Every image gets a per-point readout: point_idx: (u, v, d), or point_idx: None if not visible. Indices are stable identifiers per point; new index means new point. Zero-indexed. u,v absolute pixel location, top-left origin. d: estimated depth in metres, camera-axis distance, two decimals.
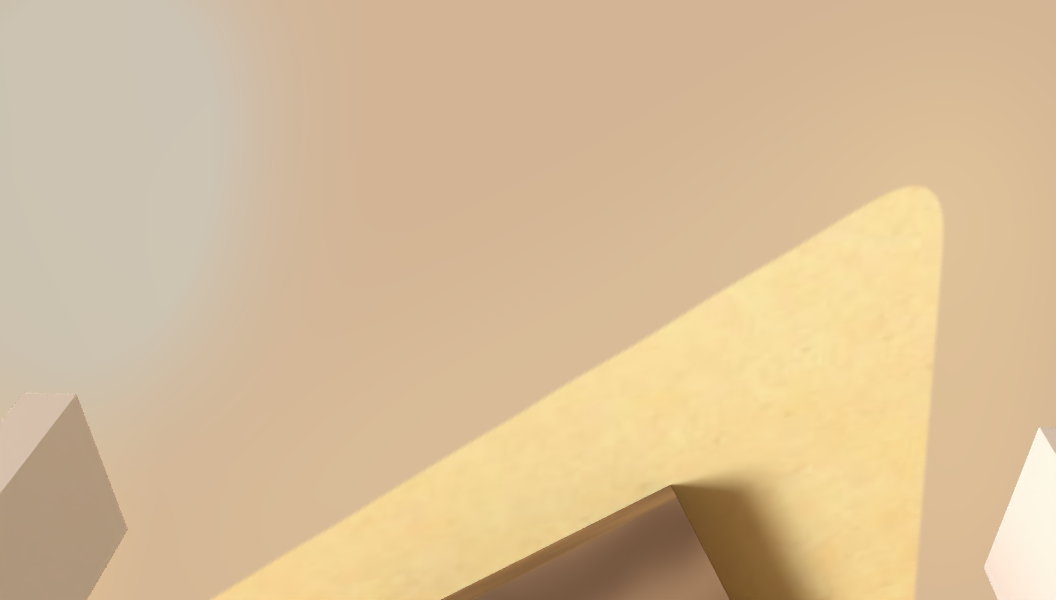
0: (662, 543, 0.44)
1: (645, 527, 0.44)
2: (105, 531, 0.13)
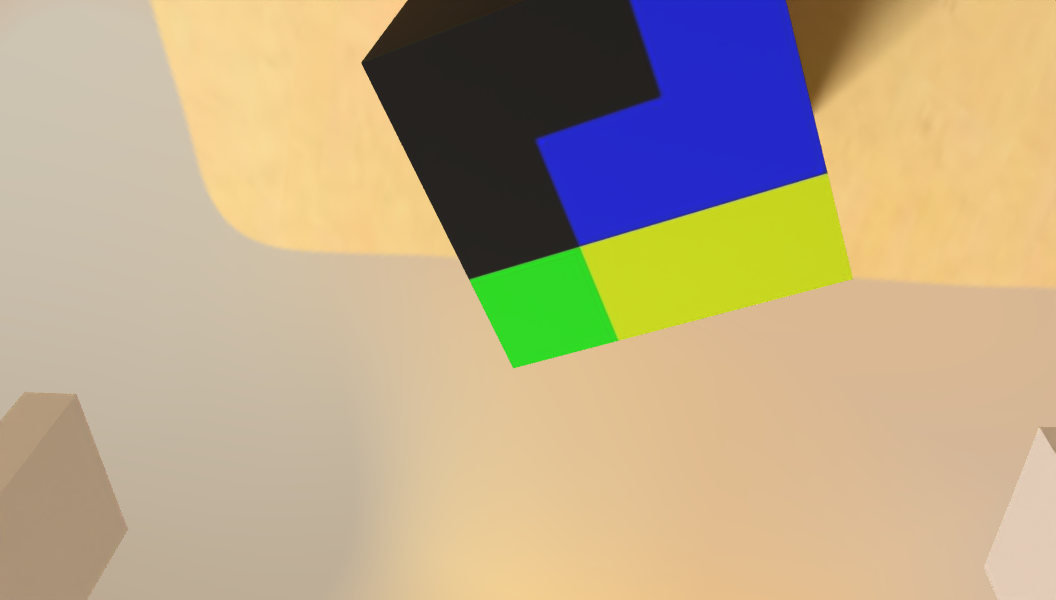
0: None
1: None
2: (105, 531, 0.13)
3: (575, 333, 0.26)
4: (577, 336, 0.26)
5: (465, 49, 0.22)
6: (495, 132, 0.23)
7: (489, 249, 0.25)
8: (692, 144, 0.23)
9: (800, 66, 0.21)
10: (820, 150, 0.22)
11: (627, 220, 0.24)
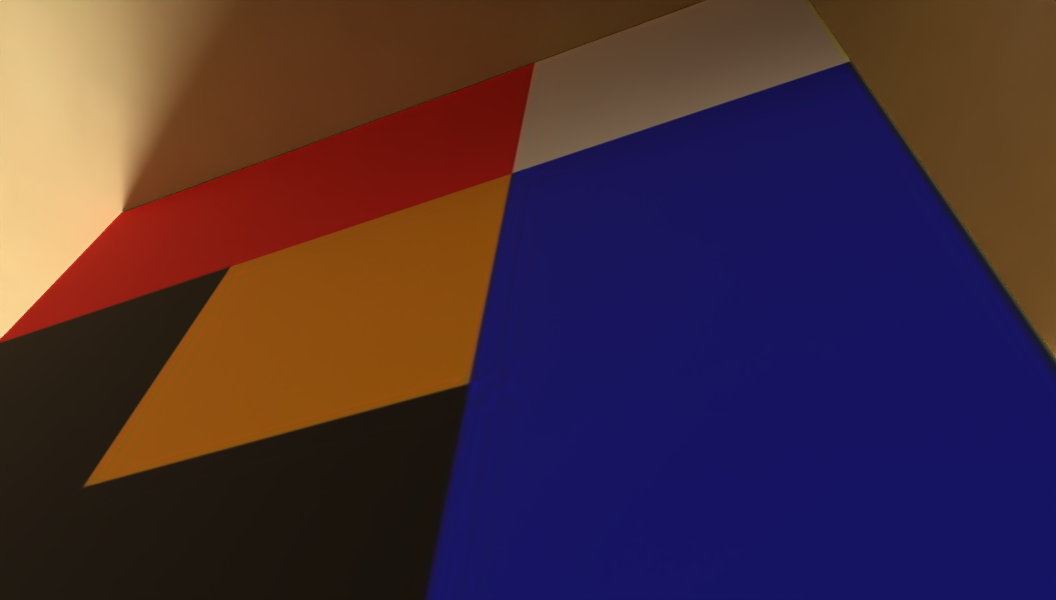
0: None
1: None
2: None
3: None
4: None
5: None
6: None
7: None
8: None
9: None
10: None
11: None
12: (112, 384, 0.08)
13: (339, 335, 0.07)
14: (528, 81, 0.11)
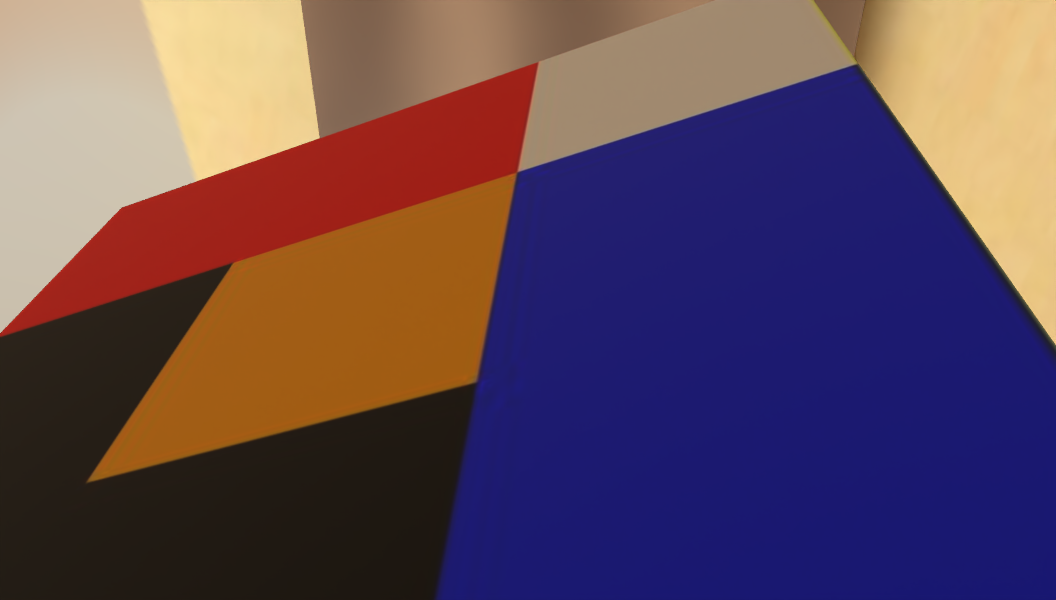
0: None
1: None
2: None
3: None
4: None
5: None
6: None
7: None
8: None
9: None
10: None
11: None
12: (113, 379, 0.08)
13: (346, 332, 0.07)
14: (533, 80, 0.11)
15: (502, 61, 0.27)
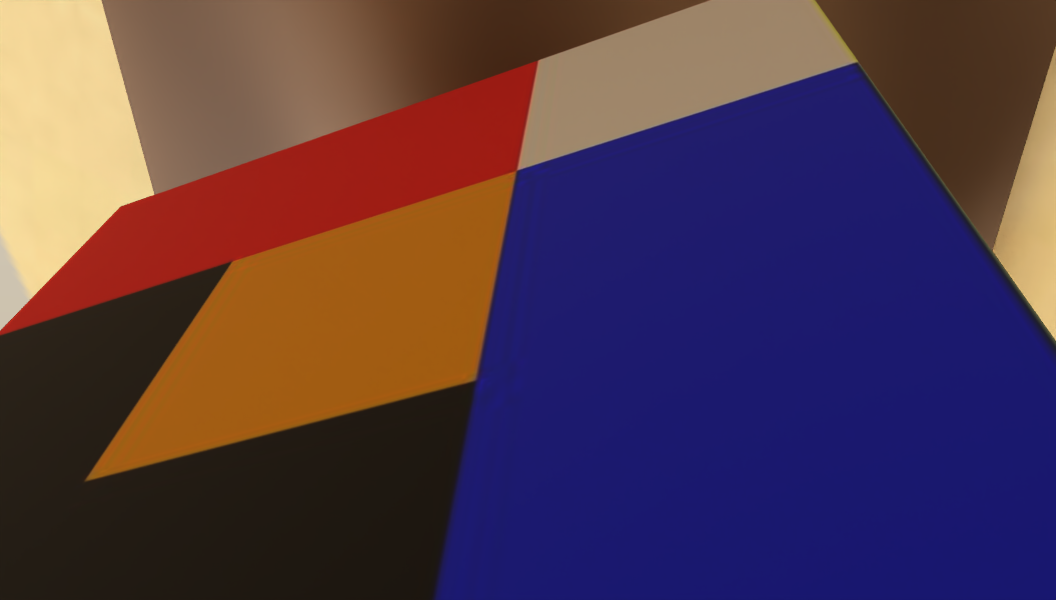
0: None
1: None
2: None
3: None
4: None
5: None
6: None
7: None
8: None
9: None
10: None
11: None
12: (112, 378, 0.08)
13: (344, 331, 0.07)
14: (532, 79, 0.11)
15: None
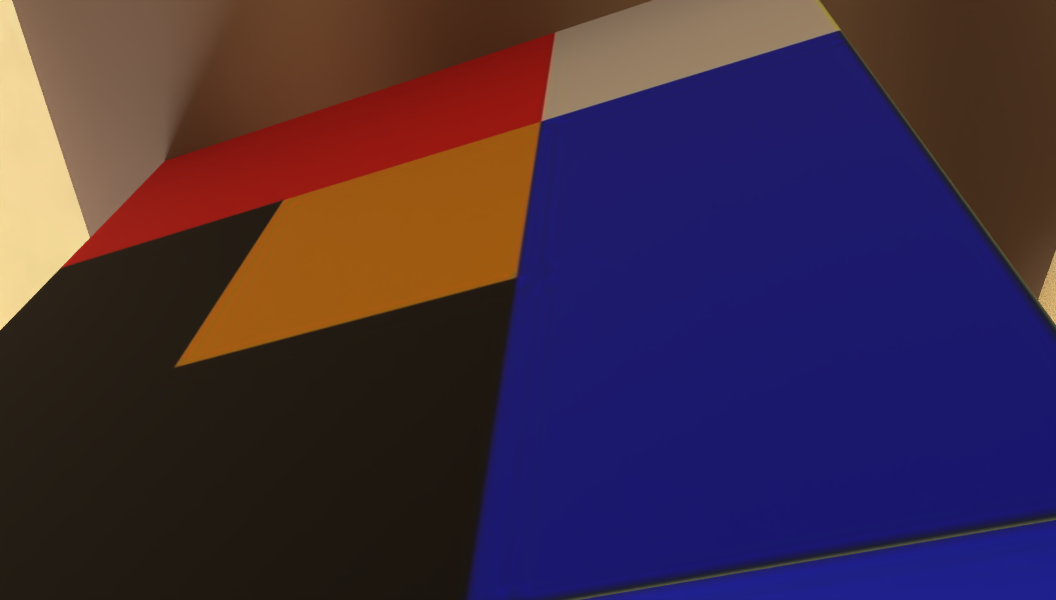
0: None
1: None
2: None
3: None
4: None
5: None
6: None
7: None
8: None
9: None
10: None
11: None
12: (185, 292, 0.10)
13: (395, 248, 0.09)
14: (551, 48, 0.12)
15: None
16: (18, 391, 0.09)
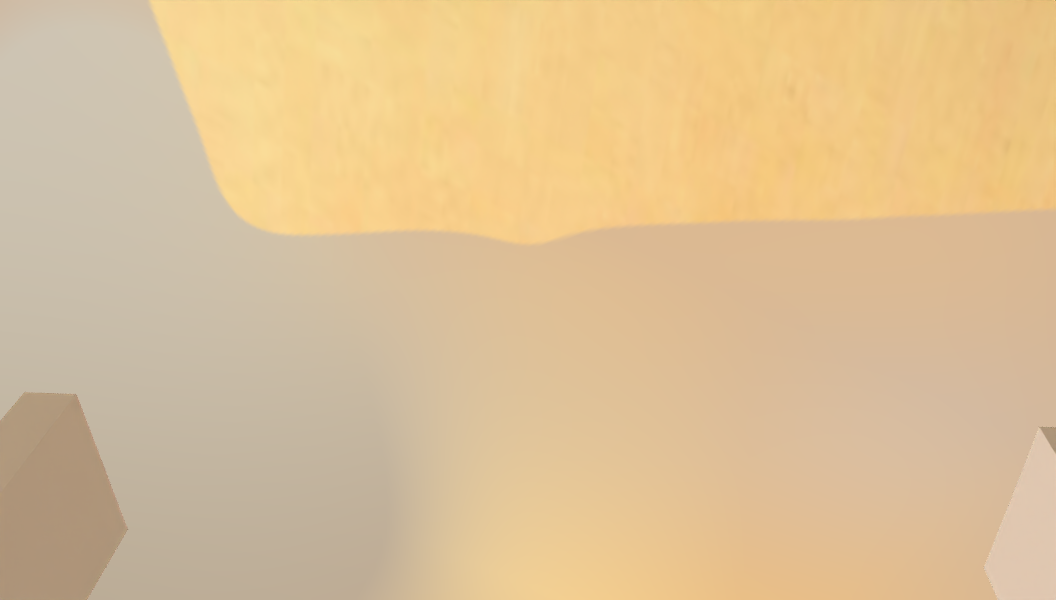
0: None
1: None
2: (105, 531, 0.13)
3: None
4: None
5: None
6: None
7: None
8: None
9: None
10: None
11: None
12: None
13: None
14: None
15: None
16: None
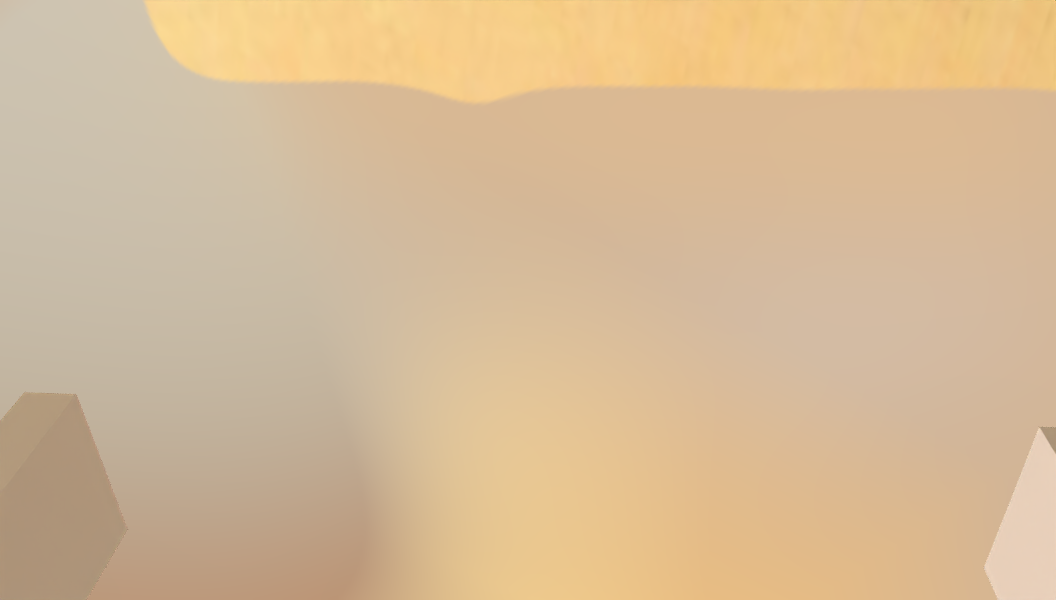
0: None
1: None
2: (105, 531, 0.13)
3: None
4: None
5: None
6: None
7: None
8: None
9: None
10: None
11: None
12: None
13: None
14: None
15: None
16: None
